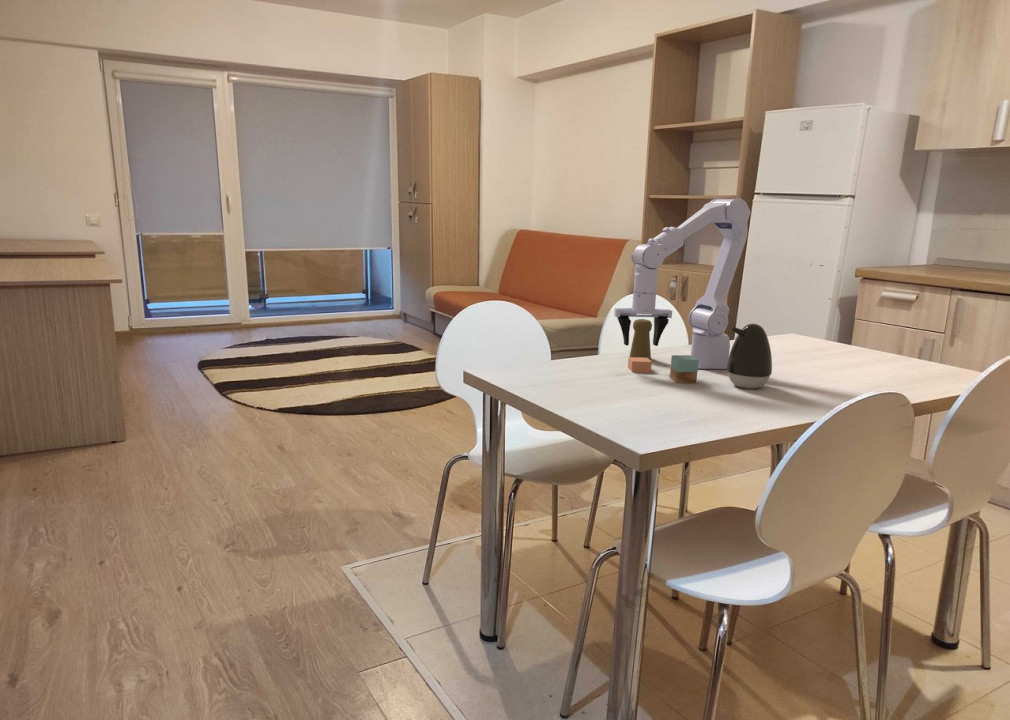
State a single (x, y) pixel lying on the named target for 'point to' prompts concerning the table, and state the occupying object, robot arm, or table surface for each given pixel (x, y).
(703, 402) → the table surface
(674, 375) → the walnut slab
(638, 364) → the orange block
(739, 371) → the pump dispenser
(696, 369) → the teal slab
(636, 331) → the olive upright rounded piece
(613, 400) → the table surface
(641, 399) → the table surface
